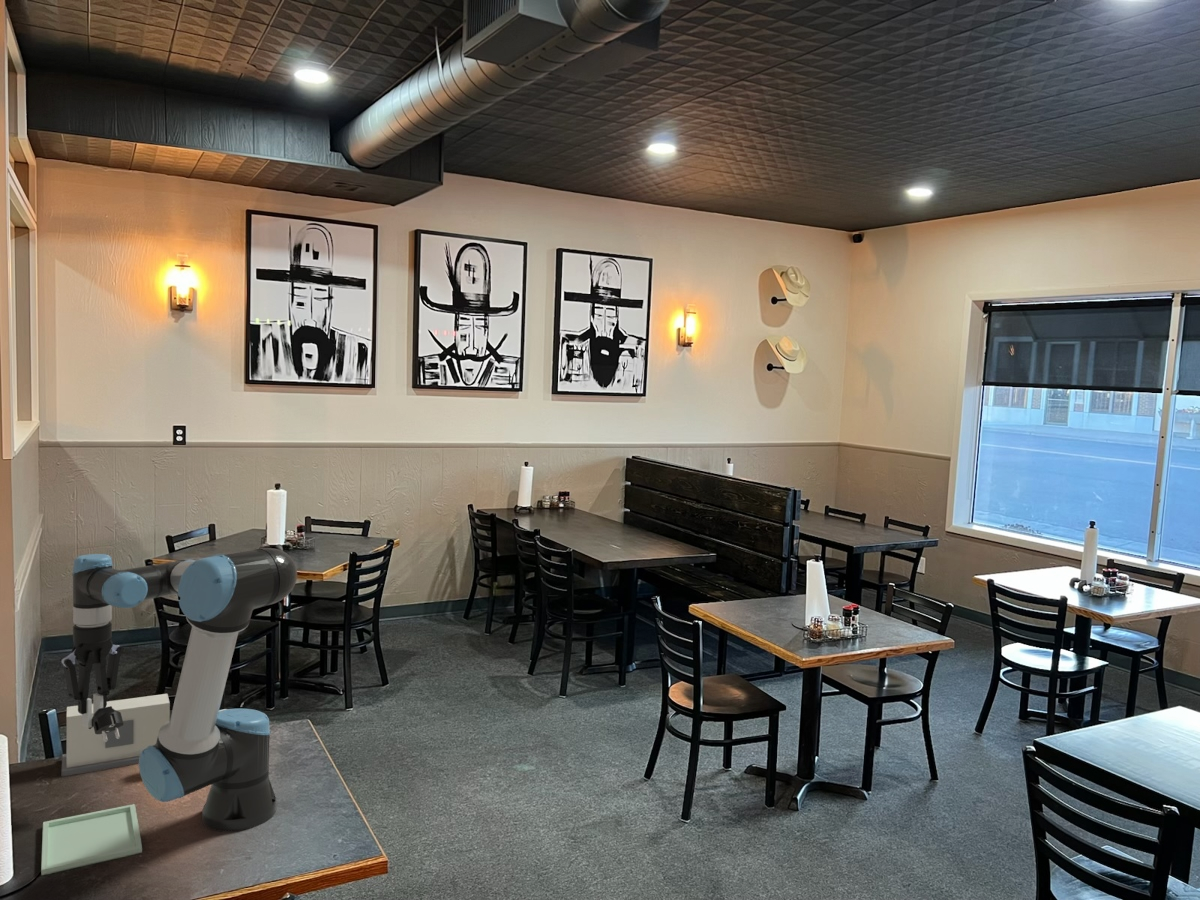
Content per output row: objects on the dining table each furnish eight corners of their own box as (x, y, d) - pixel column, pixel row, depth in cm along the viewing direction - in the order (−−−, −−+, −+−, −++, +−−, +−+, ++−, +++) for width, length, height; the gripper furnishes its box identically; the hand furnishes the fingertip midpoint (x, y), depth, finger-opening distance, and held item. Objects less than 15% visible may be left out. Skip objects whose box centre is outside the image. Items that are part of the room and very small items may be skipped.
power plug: (102, 721, 197) (122, 700, 191) (110, 752, 195) (130, 731, 189) (75, 727, 193) (95, 705, 187) (83, 759, 190) (103, 738, 184)
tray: (142, 854, 171) (142, 847, 171) (41, 877, 162) (41, 869, 162) (134, 810, 188) (134, 803, 188) (43, 828, 179) (43, 821, 179)
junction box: (170, 743, 223) (171, 691, 222) (174, 758, 214) (174, 704, 213) (62, 760, 210) (62, 705, 209) (61, 777, 202) (61, 720, 201)
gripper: (116, 613, 200) (115, 710, 202) (48, 627, 187) (48, 731, 189) (134, 619, 196) (134, 718, 198) (66, 633, 184) (66, 739, 185)
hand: (92, 724), depth 194 cm, fingers closed on power plug, 2 cm apart
